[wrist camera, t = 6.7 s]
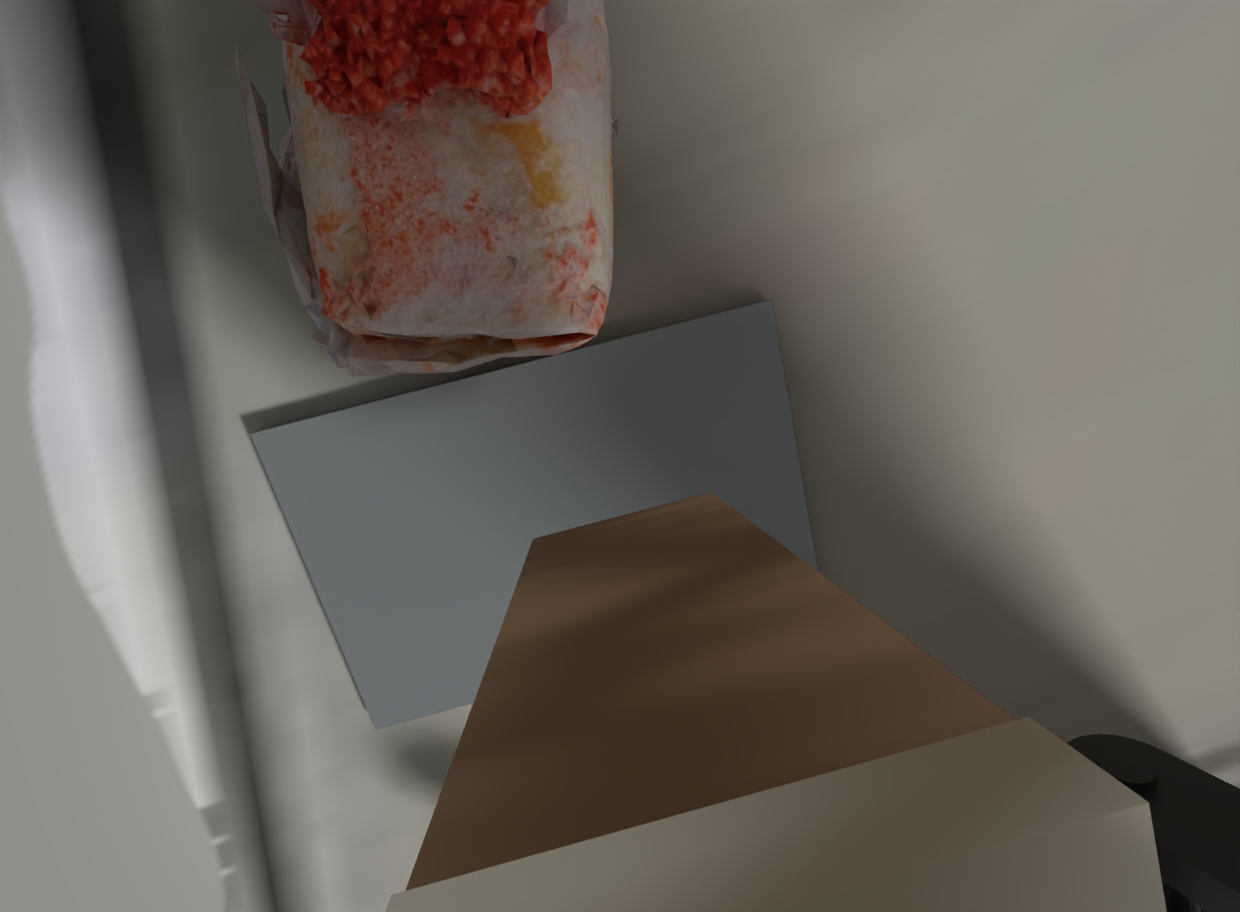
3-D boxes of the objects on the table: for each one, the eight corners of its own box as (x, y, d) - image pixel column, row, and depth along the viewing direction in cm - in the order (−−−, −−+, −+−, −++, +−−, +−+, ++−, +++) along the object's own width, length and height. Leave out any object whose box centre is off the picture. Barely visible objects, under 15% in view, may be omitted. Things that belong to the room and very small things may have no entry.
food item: (615, 344, 21) (660, 376, 11) (381, 358, 20) (219, 406, 11) (588, -131, 17) (620, -660, 8) (305, -130, 17) (-34, -703, 7)
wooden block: (713, 489, 13) (1148, 801, 3) (774, 744, 14) (1294, 1697, 4) (530, 537, 13) (337, 1035, 3) (601, 792, 13) (647, 1920, 4)
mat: (817, 599, 24) (824, 606, 23) (380, 719, 23) (375, 729, 23) (765, 300, 21) (771, 299, 20) (259, 430, 20) (250, 433, 20)
